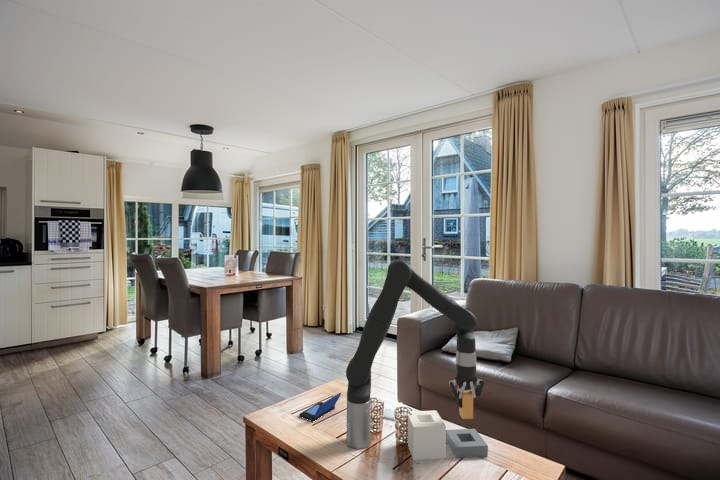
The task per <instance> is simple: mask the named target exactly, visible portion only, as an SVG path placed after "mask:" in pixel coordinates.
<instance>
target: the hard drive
mask: <svg viewBox="0 0 720 480" xmlns="http://www.w3.org/2000/svg"><path fill="white" fill-rule="evenodd" d="M394 410H395V409H392V408H387V407H385V410H384V418H383V419H385V420H389V421H393V422H395V421H394Z"/></svg>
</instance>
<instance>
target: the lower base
mask: <svg viewBox="0 0 720 480" xmlns="http://www.w3.org/2000/svg"><path fill="white" fill-rule="evenodd" d="M446 444H448V446H449V448H450V450H451V451H452V454H453V455H454V457H455V458H456V459H462V458H479V457H485V458H486V457H488V455H489V451H488V450H489V448H488V447H489V445H488V444H487V442H486V441H485V440H484V439H483V437H482V435H480V433H479V431H477V429H475V428H459V429H457V428H456V429H446Z"/></svg>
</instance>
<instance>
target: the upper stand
mask: <svg viewBox="0 0 720 480" xmlns="http://www.w3.org/2000/svg"><path fill="white" fill-rule="evenodd" d="M410 413H411V414H412V415H408V441H407V442H406V444H407V443H408V445H407V447H408V449H409V452H410V455H411V457H412V460H413V461H422V460H439V459H440V460H441V459H445V460H446V457H447V455H446V452H447V451H446V450H447V446H446V445H447V441H446V430H447V429H446V428H447V425H446V424H445V422H444V421H443V419H442V417H441V416H440V414H439V412H438V411H437V409H436V410H415V411H412V410H411V411H410Z"/></svg>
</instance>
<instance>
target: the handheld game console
mask: <svg viewBox="0 0 720 480" xmlns="http://www.w3.org/2000/svg"><path fill="white" fill-rule="evenodd" d="M341 395H342V393H341V392H339V393H336V394H335V395H334V396H332V397H331V398H329V399H327V400H326V401H324V402H323V401H319V402H317V403H315V404H314V405H311V407H308V408H306V409H305V410H303V411H302V412H299V417H300V418H301V417H303V418H305V419H304V420H306V419H308V420H307V421H309V420H311V421H310V422H312V421H315V420H317V419H318V418H320V417H321V416H322V417H324V416H325V415H327V414H329V413H331V410H332V411H333V409H334V410H335V409H336V407H335V406H336V404H337V402H338V400H339V399H340V397H341ZM328 412H329V413H328ZM326 413H327V414H326ZM324 414H325V415H324ZM322 417H321V418H322ZM303 418H302V419H303ZM321 418H320V419H321ZM318 420H319V419H318ZM318 420H317V421H318ZM315 422H316V421H315Z"/></svg>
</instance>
